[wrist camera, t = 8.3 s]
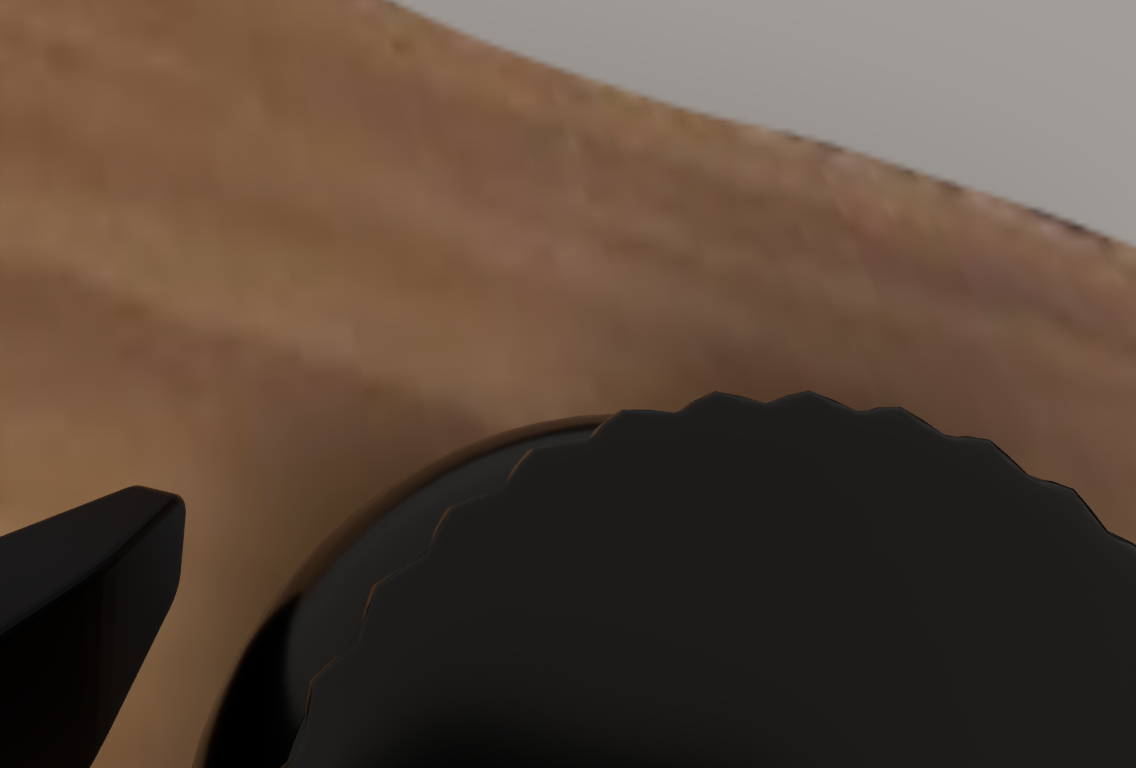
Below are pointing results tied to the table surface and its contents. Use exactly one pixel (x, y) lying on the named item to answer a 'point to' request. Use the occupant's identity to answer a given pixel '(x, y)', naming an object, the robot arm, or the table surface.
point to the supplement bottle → (700, 606)
